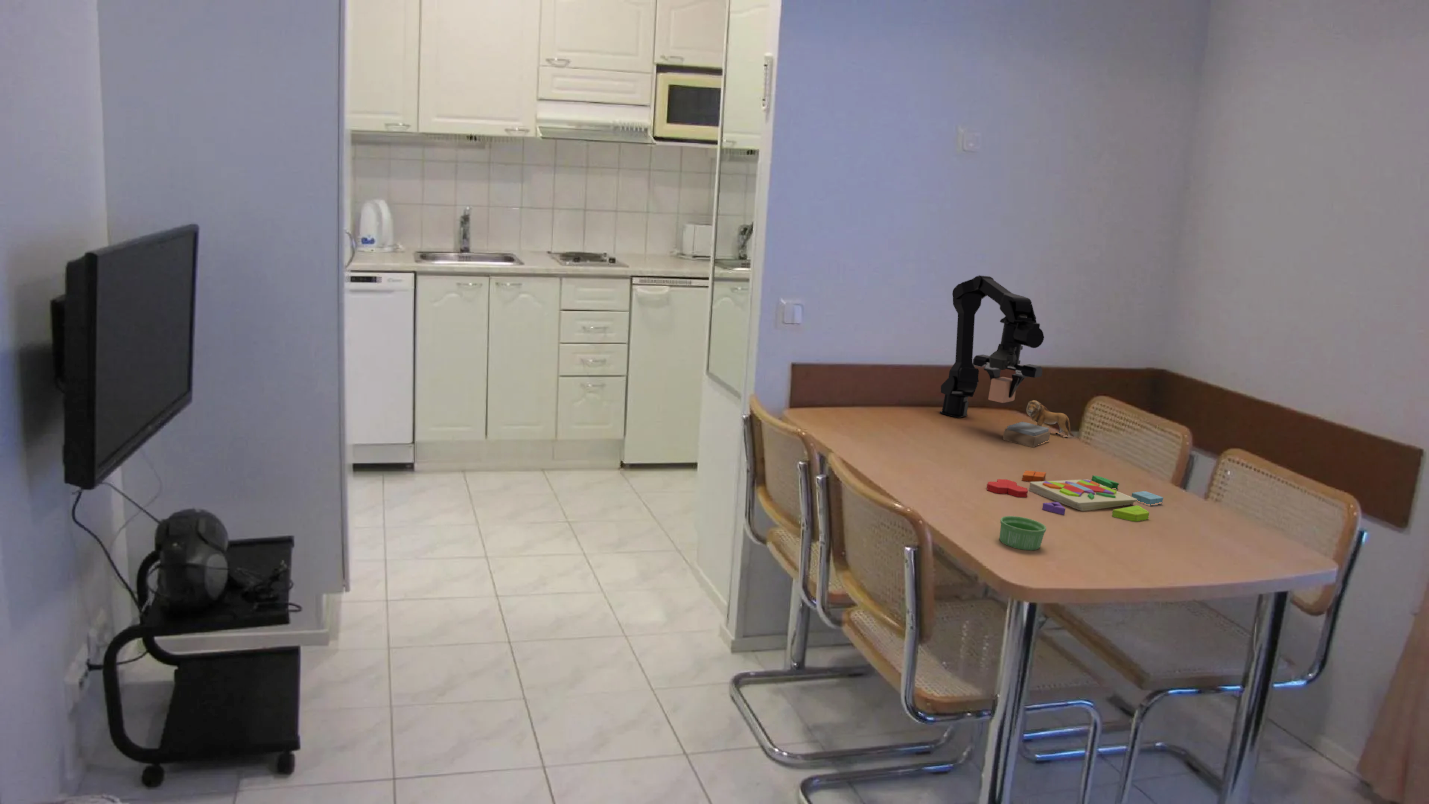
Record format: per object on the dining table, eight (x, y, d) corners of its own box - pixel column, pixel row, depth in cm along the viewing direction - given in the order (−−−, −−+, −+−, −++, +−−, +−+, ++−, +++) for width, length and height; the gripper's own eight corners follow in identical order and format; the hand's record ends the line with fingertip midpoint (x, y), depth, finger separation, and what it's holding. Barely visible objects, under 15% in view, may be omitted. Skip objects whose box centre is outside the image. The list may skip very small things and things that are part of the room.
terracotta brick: (988, 399, 325) (991, 378, 324) (999, 397, 332) (1003, 376, 330) (1002, 402, 323) (1006, 381, 322) (1014, 400, 329) (1017, 379, 328)
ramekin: (1050, 552, 228) (1054, 531, 227) (1009, 550, 226) (1013, 529, 225) (1029, 537, 237) (1033, 516, 236) (989, 535, 235) (993, 514, 234)
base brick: (1002, 439, 324) (1005, 425, 323) (1018, 434, 334) (1021, 420, 333) (1033, 447, 319) (1035, 433, 318) (1048, 441, 329) (1051, 428, 328)
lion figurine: (1022, 430, 340) (1027, 400, 338) (1023, 427, 345) (1028, 397, 343) (1073, 439, 336) (1079, 409, 334) (1073, 436, 341) (1079, 406, 339)
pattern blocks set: (1056, 471, 297) (1058, 459, 297) (1182, 511, 274) (1185, 498, 274) (974, 488, 270) (976, 475, 270) (1106, 533, 248) (1109, 520, 247)
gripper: (968, 336, 323) (959, 391, 326) (1031, 349, 312) (1022, 405, 315) (985, 335, 332) (976, 388, 335) (1047, 347, 321) (1037, 401, 324)
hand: (1002, 395), depth 327 cm, fingers closed on terracotta brick, 4 cm apart
